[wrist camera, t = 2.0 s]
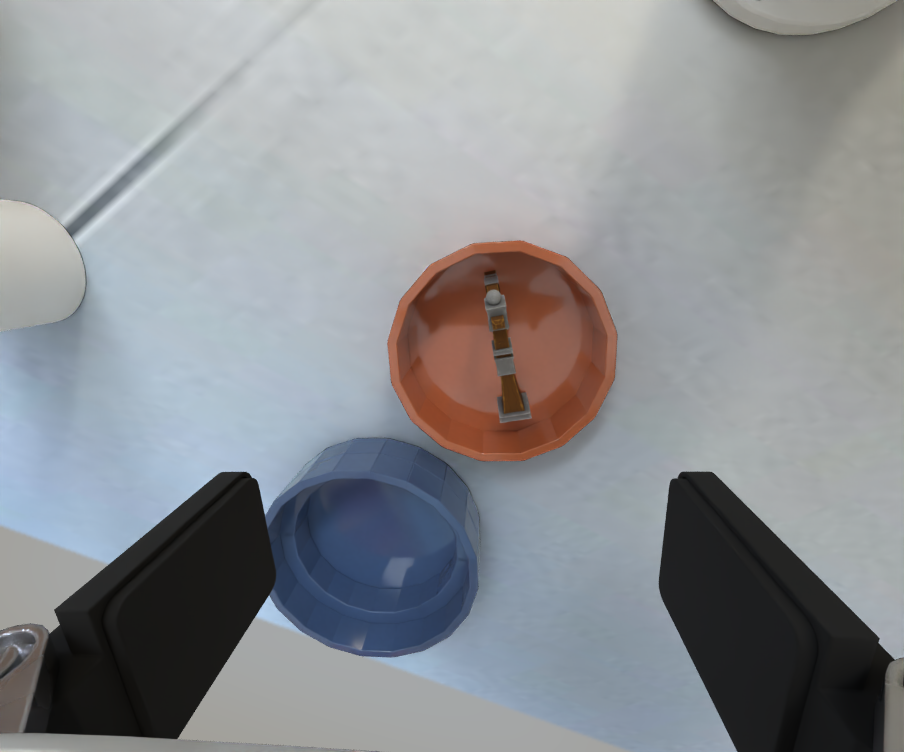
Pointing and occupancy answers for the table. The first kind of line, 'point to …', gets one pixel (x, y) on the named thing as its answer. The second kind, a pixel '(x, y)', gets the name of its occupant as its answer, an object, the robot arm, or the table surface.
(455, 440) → the shallow terracotta dish
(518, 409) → the wooden post with brackets
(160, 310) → the table surface
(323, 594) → the bowl
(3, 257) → the cylindrical container
